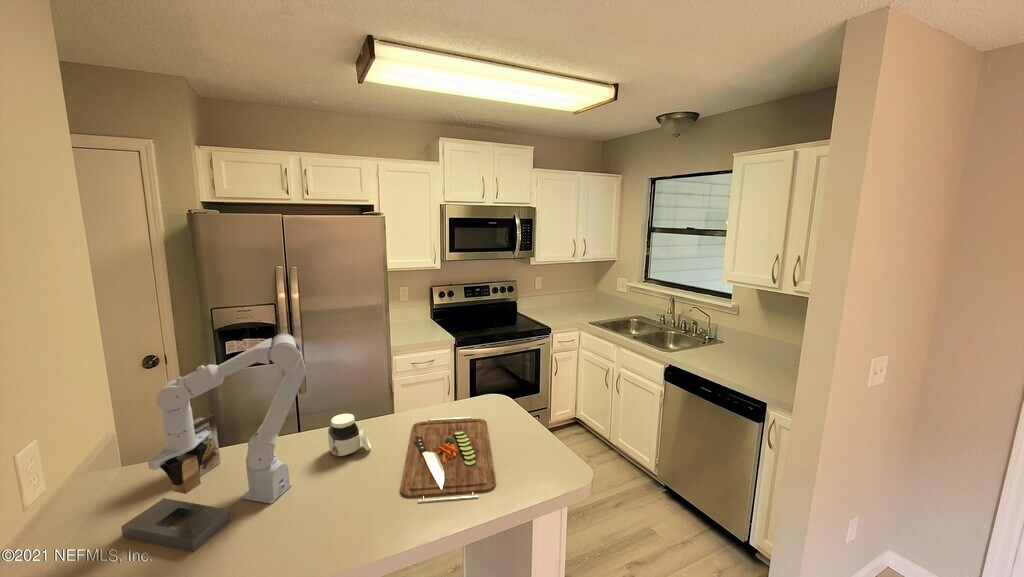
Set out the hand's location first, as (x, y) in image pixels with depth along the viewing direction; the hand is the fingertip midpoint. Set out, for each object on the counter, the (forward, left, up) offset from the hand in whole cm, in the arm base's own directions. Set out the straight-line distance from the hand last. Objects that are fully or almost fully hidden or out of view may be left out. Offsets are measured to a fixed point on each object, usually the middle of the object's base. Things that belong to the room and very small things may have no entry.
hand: (186, 478), depth 105 cm
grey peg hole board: (-3, +5, -9) cm, 11 cm away
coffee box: (+13, -15, -10) cm, 22 cm away
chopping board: (-56, -39, -10) cm, 69 cm away
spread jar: (-25, -34, -10) cm, 43 cm away
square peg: (0, 0, -3) cm, 3 cm away
